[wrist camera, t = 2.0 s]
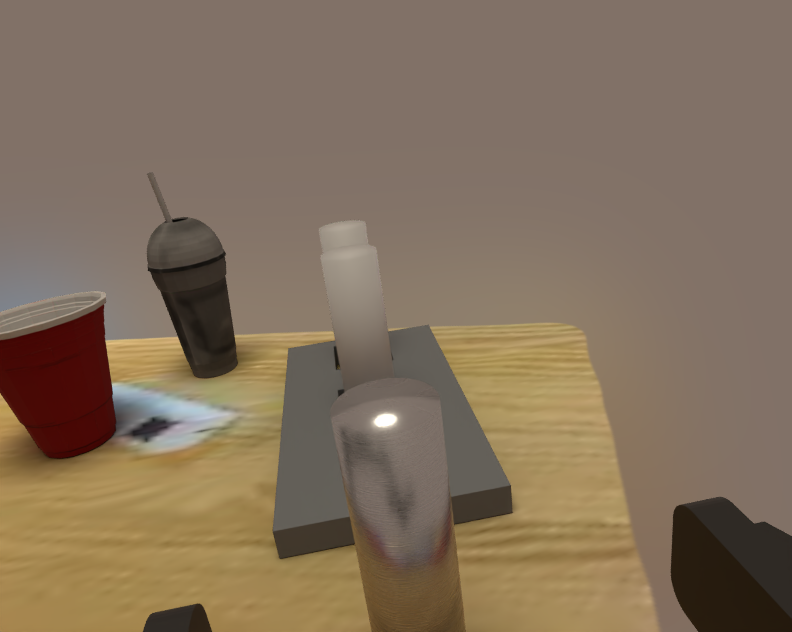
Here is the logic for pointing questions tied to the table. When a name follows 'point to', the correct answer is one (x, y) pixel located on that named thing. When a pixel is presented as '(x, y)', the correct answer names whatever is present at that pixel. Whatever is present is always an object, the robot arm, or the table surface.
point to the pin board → (359, 363)
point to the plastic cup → (58, 372)
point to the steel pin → (400, 504)
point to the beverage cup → (194, 290)
